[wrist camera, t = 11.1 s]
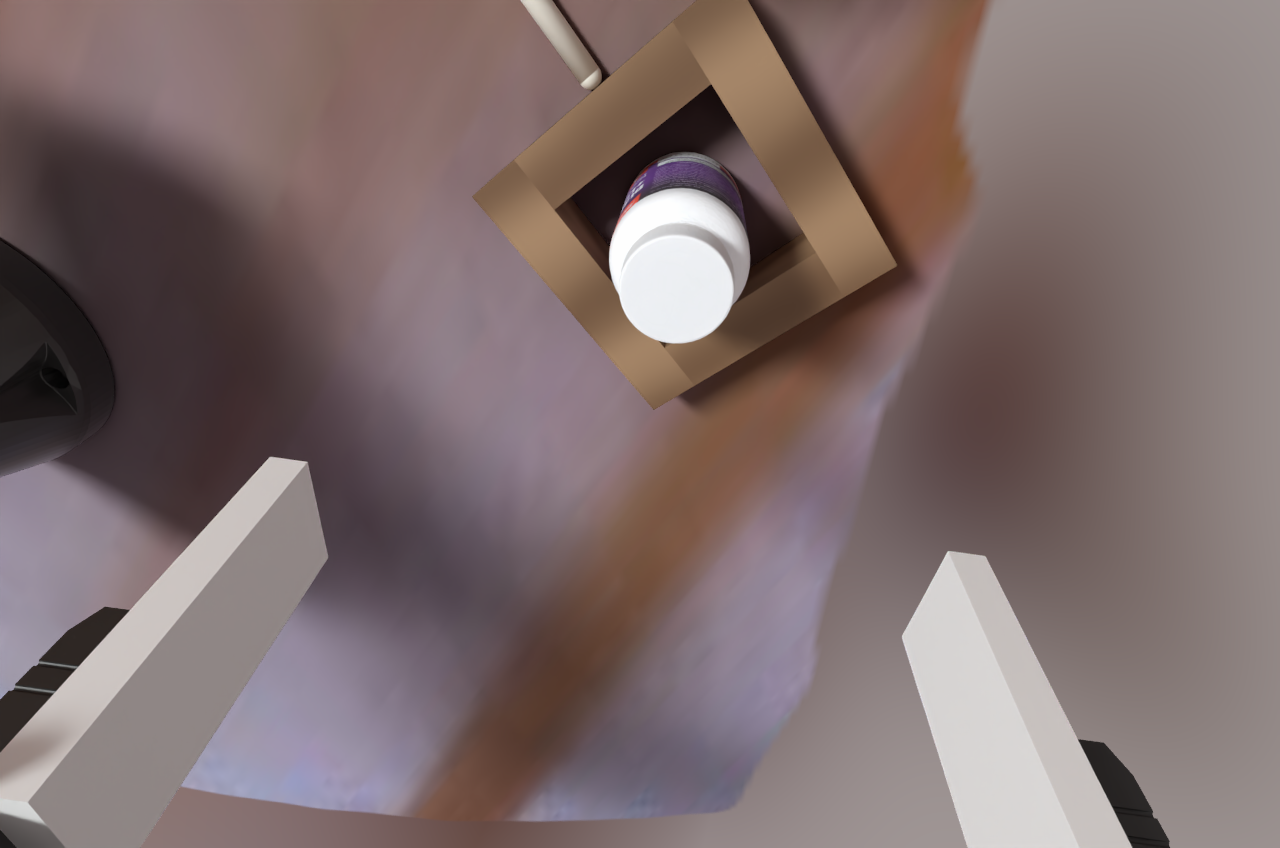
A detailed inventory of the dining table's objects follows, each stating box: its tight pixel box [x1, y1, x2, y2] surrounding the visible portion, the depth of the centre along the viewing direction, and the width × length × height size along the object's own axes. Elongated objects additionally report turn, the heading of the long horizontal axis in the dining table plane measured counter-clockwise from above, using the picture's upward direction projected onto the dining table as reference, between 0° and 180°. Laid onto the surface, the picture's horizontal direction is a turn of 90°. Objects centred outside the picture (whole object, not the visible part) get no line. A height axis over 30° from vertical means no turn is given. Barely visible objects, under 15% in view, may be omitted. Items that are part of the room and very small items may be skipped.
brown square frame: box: [472, 0, 897, 410], centre depth 29 cm, size 13×13×3 cm
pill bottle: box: [609, 152, 750, 344], centre depth 26 cm, size 5×5×10 cm
